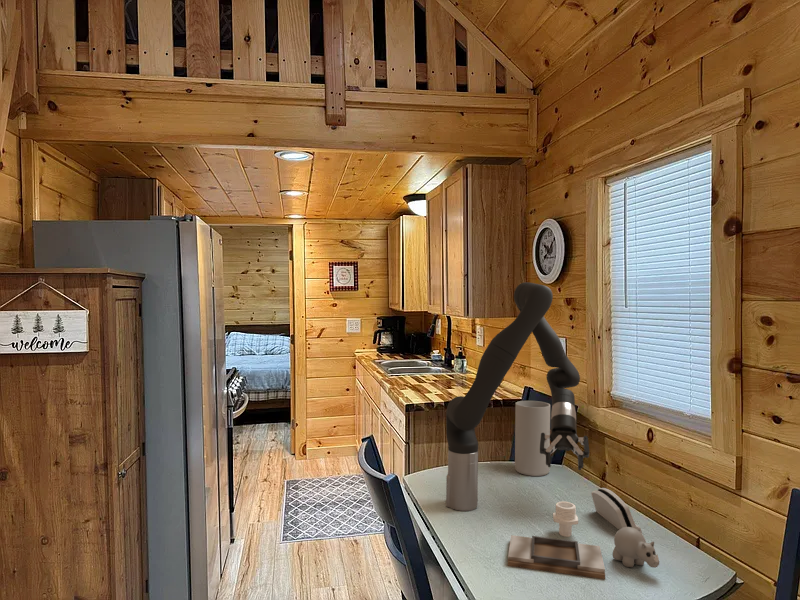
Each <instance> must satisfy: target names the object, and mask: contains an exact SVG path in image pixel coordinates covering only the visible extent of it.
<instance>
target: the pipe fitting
mask: <svg viewBox="0 0 800 600" xmlns="http://www.w3.org/2000/svg"><path fill="white" fill-rule="evenodd" d="M576 508H577V507H576V505H575V504H574V503H572V502H570V501H558V502H556V504H555V512H553V513H552V518H553V522H554V523H557V524H558V527H559V528H558V533H559V535H560V536H562V537H565V538H566V537H567V538H568V537H571V536H572V532H573V531H572V530H573V529H572V526H573V525H579V517H578V515H577V514H576V513H577V512H576V510H577V509H576Z"/></svg>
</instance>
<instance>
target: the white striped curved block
mask: <svg viewBox="0 0 800 600" xmlns="http://www.w3.org/2000/svg"><path fill="white" fill-rule="evenodd" d="M590 494H591V498H592V501H593V504H594V505H593V506H594V509H595V512H596V513H598V514H599V515H600V516H601V517H603V518H604V519H605V520H606V521H607V522H608V523H610V524H611V525H612V526H614V527H615V528H616V529H617V530H620V529H621V528H624V527H632V528H635V529H637V530H638V531H639V532H641V533H642V534H643V532H642V528H641V527H640V526H638V525H637V524H636V523H635V521H634V518H633V515H632V513H631V510H630V508H629V506H628V504H626V503H625V501H624V500H622V498H620V496H618V495H617V494H616V493H615V492H614V491H612V490H610V489H608V488H606V487H601V488H597V489H595V490H592V492H591V493H590Z"/></svg>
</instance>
